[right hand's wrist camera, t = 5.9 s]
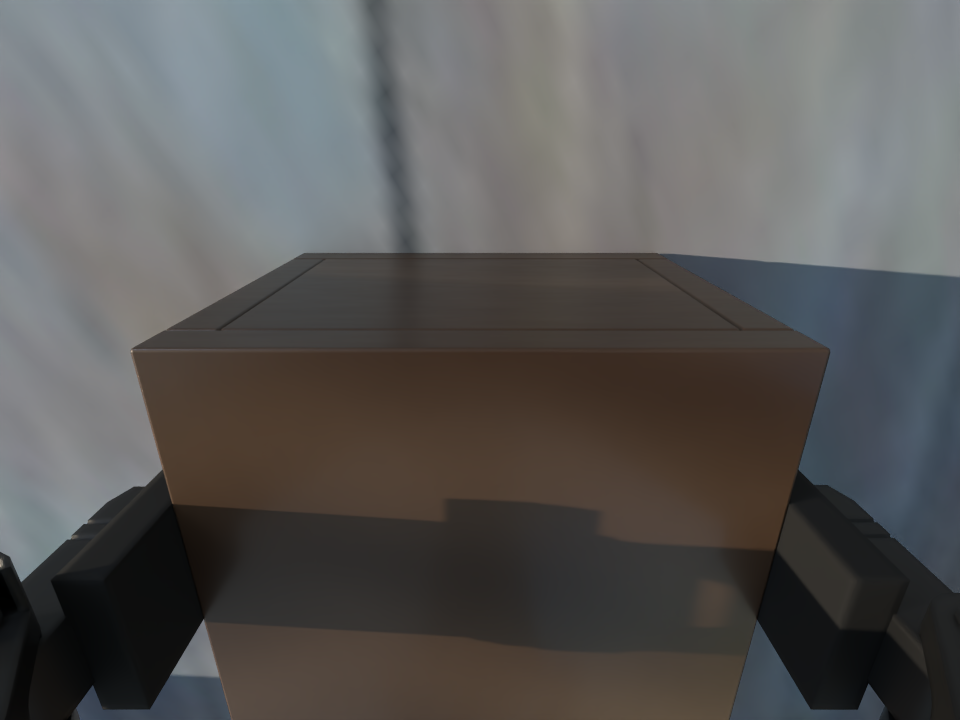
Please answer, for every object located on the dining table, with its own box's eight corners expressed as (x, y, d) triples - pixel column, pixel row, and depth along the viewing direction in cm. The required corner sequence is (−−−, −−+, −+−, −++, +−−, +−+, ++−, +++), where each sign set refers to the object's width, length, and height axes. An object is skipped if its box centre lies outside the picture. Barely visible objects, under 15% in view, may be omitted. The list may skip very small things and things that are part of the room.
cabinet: (596, 727, 23) (652, 1002, 16) (363, 726, 23) (307, 1001, 16) (658, 252, 15) (833, 348, 8) (302, 252, 15) (127, 348, 8)
